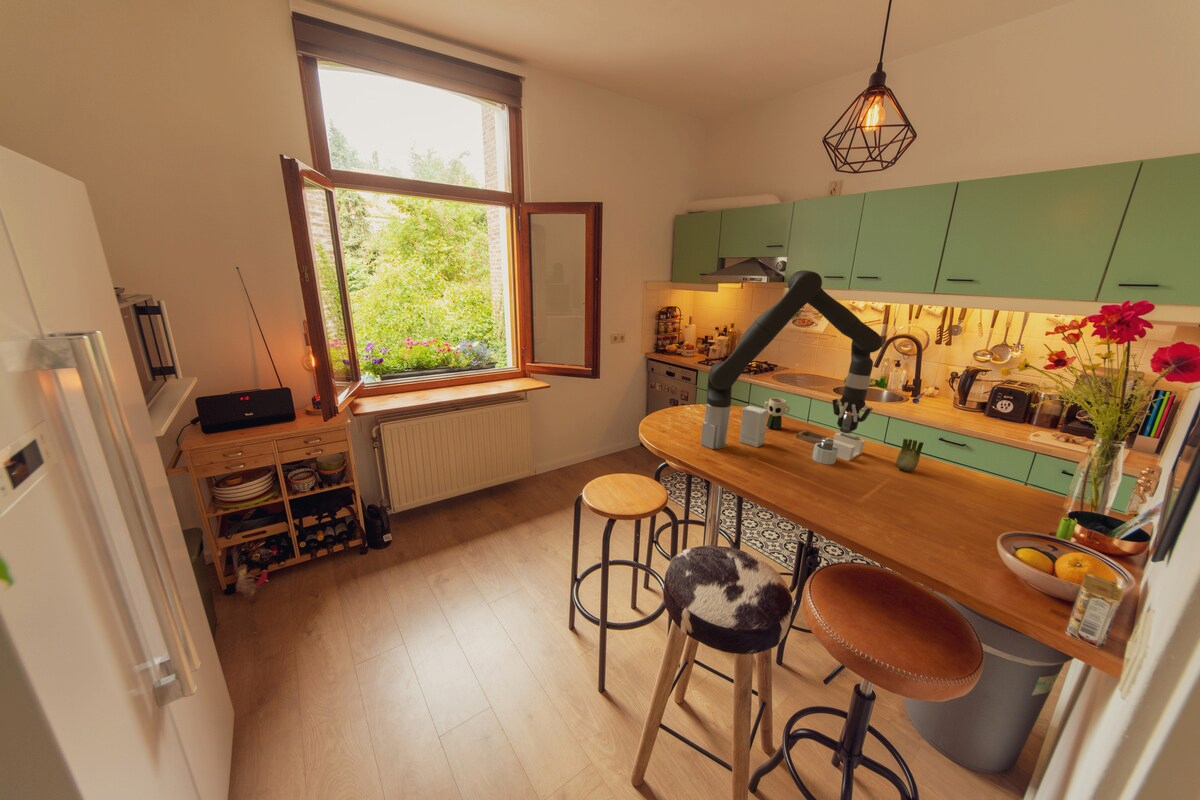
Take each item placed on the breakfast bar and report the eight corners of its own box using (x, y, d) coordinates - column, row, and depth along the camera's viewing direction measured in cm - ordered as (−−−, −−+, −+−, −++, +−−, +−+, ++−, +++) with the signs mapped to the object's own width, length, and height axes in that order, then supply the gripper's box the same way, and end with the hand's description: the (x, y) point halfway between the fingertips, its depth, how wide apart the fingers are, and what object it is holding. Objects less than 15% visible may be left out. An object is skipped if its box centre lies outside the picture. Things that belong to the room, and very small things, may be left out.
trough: (824, 449, 171) (826, 443, 170) (795, 439, 180) (796, 433, 179) (833, 444, 175) (834, 439, 175) (804, 435, 184) (805, 430, 184)
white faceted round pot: (828, 468, 155) (832, 453, 153) (808, 460, 160) (811, 446, 159) (838, 462, 159) (841, 448, 157) (817, 455, 165) (820, 441, 163)
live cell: (848, 434, 161) (854, 413, 159) (838, 430, 164) (842, 409, 162) (853, 431, 164) (858, 411, 161) (842, 428, 167) (847, 408, 164)
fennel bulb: (916, 472, 154) (925, 441, 150) (910, 475, 152) (918, 443, 148) (899, 465, 159) (907, 435, 155) (892, 468, 156) (900, 438, 153)
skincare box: (764, 444, 174) (769, 409, 169) (757, 448, 170) (762, 413, 165) (745, 438, 180) (749, 404, 175) (737, 441, 176) (742, 407, 171)
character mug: (758, 426, 193) (762, 399, 189) (764, 422, 198) (768, 395, 194) (783, 433, 186) (788, 404, 182) (788, 428, 192) (793, 401, 188)
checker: (848, 462, 160) (852, 445, 157) (821, 453, 167) (824, 436, 165) (861, 454, 167) (865, 438, 165) (835, 446, 174) (838, 430, 172)
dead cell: (826, 463, 157) (831, 441, 154) (815, 459, 160) (819, 438, 157) (831, 460, 159) (835, 439, 157) (820, 456, 162) (824, 435, 160)
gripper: (832, 382, 161) (823, 424, 167) (873, 391, 151) (862, 436, 156) (841, 379, 166) (831, 420, 171) (881, 388, 155) (870, 432, 161)
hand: (846, 428), depth 164 cm, fingers closed on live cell, 4 cm apart
